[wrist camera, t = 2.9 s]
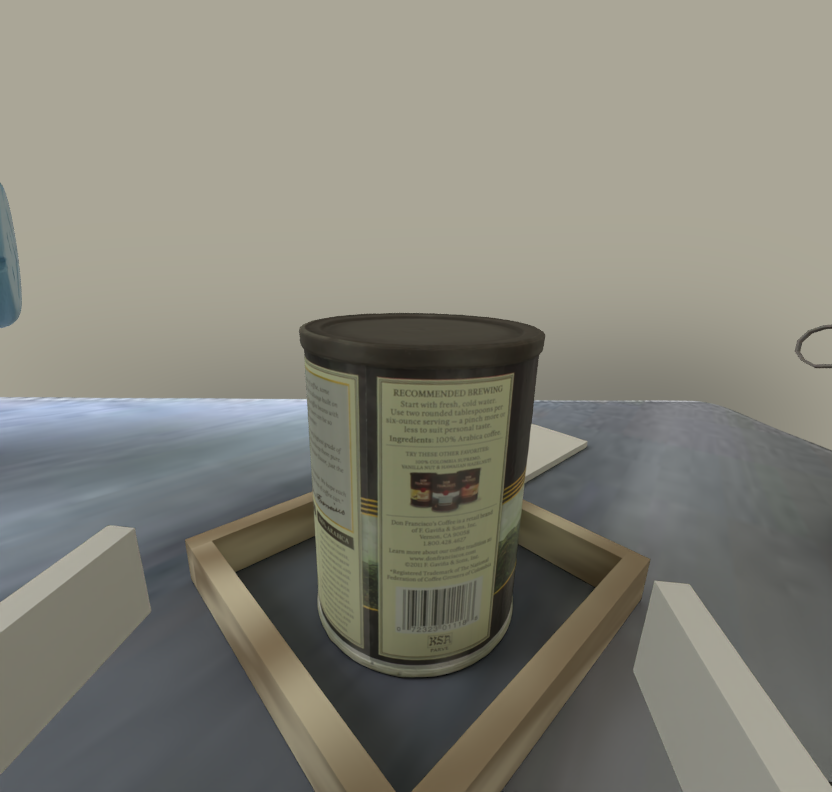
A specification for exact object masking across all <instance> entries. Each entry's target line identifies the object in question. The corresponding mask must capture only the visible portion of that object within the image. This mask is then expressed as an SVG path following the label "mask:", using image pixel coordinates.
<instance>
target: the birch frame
mask: <svg viewBox="0 0 832 792" xmlns="http://www.w3.org/2000/svg"><path fill="white" fill-rule="evenodd" d="M313 536H315V521H314V504H313V492H310V493H308V494H305V495H302V496H300V497H297V498H294V499H292V500H289V501H286V502H284V503H281V504H278V505H276V506H273V507H270V508H268V509H265V510H262V511H260V512H257V513H255V514H252V515H249V516H247V517H244V518H241V519H239V520H236V521H233V522H231V523H228V524H225V525H223V526H220V527H217V528H215V529H212V530H209V531H207V532H204V533H201V534H199V535H196V536H194V537H191V538H188V539H186V540H185V543H186V549H187V555H188V561H189V568H190V574H191V579H192V581H193V583H194V585H195V586H196V588H197V590H198V591H199V593H200V595H201V597H202V598H203V600H204V602H205V603H206V605H207V607H208V609H209V610H210V612H211V614H212V615H213V617H214V619H215V621H216V622H217V624H218V626H219V627H220V629H221V631H222V633H223V634H224V636H225V638H226V639H227V641H228V643H229V645H230V646H231V648H232V650H233V651H234V653H235V655H236V657H237V658H238V660H239V662H240V663H241V665H242V667H243V669H244V670H245V672H246V674H247V675H248V677H249V679H250V681H251V682H252V684H253V686H254V687H255V689H256V691H257V693H258V694H259V696H260V698H261V700H262V701H263V703H264V705H265V706H266V708H267V710H268V712H269V713H270V715H271V717H272V718H273V720H274V722H275V724H276V725H277V727H278V729H279V730H280V732H281V734H282V736H283V737H284V739H285V741H286V742H287V744H288V746H289V748H290V749H291V751H292V753H293V754H294V756H295V758H296V760H297V761H298V763H299V765H300V766H301V768H302V770H303V772H304V773H305V775H306V777H307V778H308V780H309V782H310V784H311V785H312V787H313V789H314V790H315V792H395V790H394V789H393V788H392V786H391V785H390V783H389V782H388V781H387V779H386V778H385V777H384V775H383V774H382V772H381V771H380V770H379V768H378V767H377V766H376V764H375V763H374V762H373V760H372V759H371V757H370V756H369V755H368V753H367V752H366V751H365V749H364V748H363V747H362V745H361V744H360V742H359V741H358V740H357V738H356V737H355V736H354V734H353V733H352V732H351V730H350V729H349V727H348V726H347V725H346V723H345V722H344V721H343V719H342V718H341V717H340V715H339V714H338V712H337V711H336V710H335V708H334V707H333V706H332V704H331V703H330V702H329V700H328V699H327V697H326V696H325V695H324V693H323V692H322V691H321V689H320V688H319V687H318V685H317V684H316V682H315V681H314V680H313V678H312V677H311V676H310V674H309V673H308V671H307V670H306V669H305V667H304V666H303V665H302V663H301V662H300V661H299V659H298V658H297V656H296V655H295V654H294V652H293V651H292V650H291V648H290V647H289V646H288V644H287V643H286V641H285V640H284V639H283V637H282V636H281V635H280V633H279V632H278V631H277V629H276V628H275V626H274V625H273V624H272V622H271V621H270V620H269V618H268V617H267V616H266V614H265V613H264V611H263V610H262V609H261V607H260V606H259V605H258V603H257V602H256V601H255V599H254V598H253V596H252V595H251V594H250V592H249V591H248V590H247V588H246V587H245V585H244V584H243V583H242V581H241V580H240V579H239V577H238V576H237V575H236V573H235V572H237V571H239V570H241V569H243V568H245V567H248V566H250V565H252V564H254V563H256V562H258V561H261V560H263V559H265V558H267V557H269V556H272V555H274V554H276V553H278V552H280V551H282V550H285V549H287V548H289V547H291V546H293V545H296V544H298V543H300V542H302V541H304V540H307V539H309V538H311V537H313ZM518 544H519V545H521V546H523V547H524V548H526V549H528V550H530V551H532V552H533V553H535V554H537V555H539V556H541V557H542V558H544V559H546V560H548V561H549V562H551V563H553V564H555V565H557V566H558V567H560V568H562V569H564V570H566V571H567V572H569V573H571V574H573V575H574V576H576V577H578V578H580V579H582V580H583V581H585V582H587V583H589V584H591V585H592V586H594V587H596V588H595V589H594V590H593V591H592V592H591V594H590V595H589V596H588V597H587V598H586V599H585V600H584V601H583V602H582V603H581V605H580V606H579V607H578V608H577V609H576V610H575V611H574V612H573V613H572V615H571V616H570V617H569V618H568V619H567V620H566V621H565V622H564V623H563V625H562V626H561V627H560V628H559V629H558V630H557V631H556V632H555V633H554V634H553V636H552V637H551V638H550V639H549V640H548V641H547V642H546V643H545V644H544V646H543V647H542V648H541V649H540V650H539V651H538V652H537V653H536V654H535V655H534V657H533V658H532V659H531V660H530V661H529V662H528V663H527V664H526V665H525V667H524V668H523V669H522V670H521V671H520V672H519V673H518V674H517V675H516V677H515V678H514V679H513V680H512V681H511V682H510V683H509V684H508V685H507V686H506V688H505V689H504V690H503V691H502V692H501V693H500V694H499V695H498V696H497V698H496V699H495V700H494V701H493V702H492V703H491V704H490V705H489V706H488V708H487V709H486V710H485V711H484V712H483V713H482V714H481V715H480V716H479V717H478V719H477V720H476V721H475V722H474V723H473V724H472V725H471V726H470V727H469V729H468V730H467V731H466V732H465V733H464V734H463V735H462V736H461V737H460V738H459V740H458V741H457V742H456V743H455V744H454V745H453V746H452V747H451V748H450V750H449V751H448V752H447V753H446V754H445V755H444V756H443V757H442V758H441V760H440V761H439V762H438V763H437V764H436V765H435V766H434V767H433V768H432V769H431V771H430V772H429V773H428V774H427V775H426V776H425V777H424V778H423V779H422V781H421V782H420V783H419V784H418V785H417V786H416V787H415V788H414V789H413V791H412V792H501V791H502V789H503V788H504V787H505V785H506V784H507V782H508V781H509V780H510V778H511V777H512V776H513V774H514V773H515V772H516V770H517V769H518V767H519V766H520V765H521V763H522V762H523V761H524V759H525V758H526V756H527V755H528V754H529V752H530V751H531V750H532V748H533V747H534V745H535V744H536V743H537V741H538V740H539V739H540V737H541V736H542V734H543V733H544V732H545V730H546V729H547V728H548V726H549V725H550V724H551V722H552V721H553V719H554V718H555V717H556V715H557V714H558V713H559V711H560V710H561V708H562V707H563V706H564V704H565V703H566V702H567V700H568V699H569V697H570V696H571V695H572V693H573V692H574V691H575V689H576V688H577V686H578V685H579V684H580V682H581V681H582V680H583V678H584V677H585V676H586V674H587V673H588V671H589V670H590V669H591V667H592V666H593V665H594V663H595V662H596V660H597V659H598V658H599V656H600V655H601V654H602V652H603V651H604V649H605V648H606V647H607V645H608V644H609V643H610V641H611V640H612V638H613V637H614V636H615V634H616V633H617V632H618V630H619V629H620V627H621V626H622V625H623V623H624V622H625V621H626V619H627V618H628V617H629V615H630V614H631V612H632V611H633V610H634V608H635V607H636V606H637V604H638V603H639V601H640V600H641V598H642V594H643V589H644V585H645V581H646V576H647V572H648V568H649V563H650V559H649V558H647V557H644V556H642V555H640V554H638V553H636V552H634V551H632V550H630V549H627V548H625V547H623V546H621V545H619V544H617V543H615V542H613V541H610V540H608V539H606V538H604V537H602V536H600V535H598V534H595V533H593V532H591V531H589V530H587V529H585V528H583V527H581V526H578V525H576V524H574V523H572V522H570V521H568V520H566V519H564V518H561V517H559V516H557V515H555V514H553V513H551V512H549V511H546V510H544V509H542V508H540V507H538V506H536V505H534V504H532V503H529V502H527V501H525V500H523V501H522V511H521V521H520V530H519V540H518Z"/></svg>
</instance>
